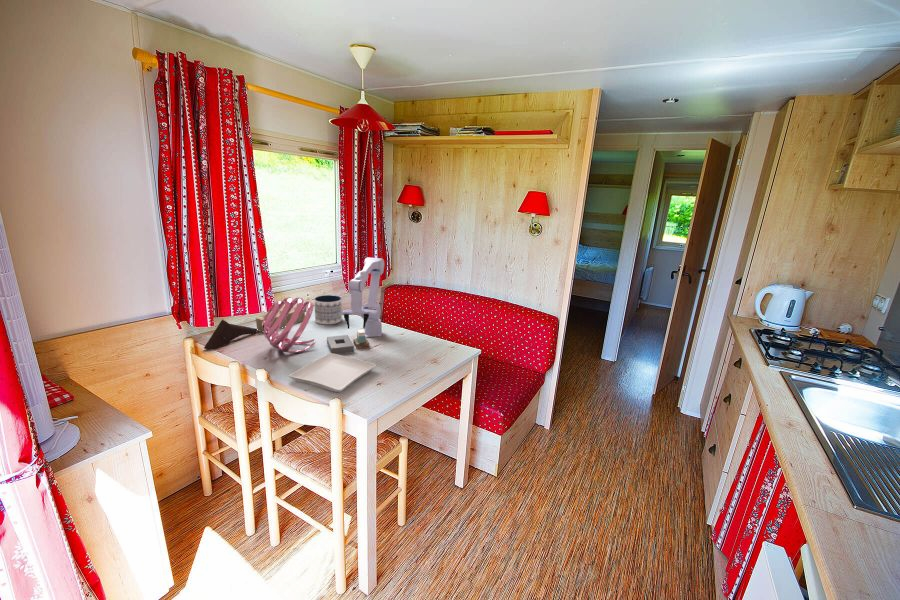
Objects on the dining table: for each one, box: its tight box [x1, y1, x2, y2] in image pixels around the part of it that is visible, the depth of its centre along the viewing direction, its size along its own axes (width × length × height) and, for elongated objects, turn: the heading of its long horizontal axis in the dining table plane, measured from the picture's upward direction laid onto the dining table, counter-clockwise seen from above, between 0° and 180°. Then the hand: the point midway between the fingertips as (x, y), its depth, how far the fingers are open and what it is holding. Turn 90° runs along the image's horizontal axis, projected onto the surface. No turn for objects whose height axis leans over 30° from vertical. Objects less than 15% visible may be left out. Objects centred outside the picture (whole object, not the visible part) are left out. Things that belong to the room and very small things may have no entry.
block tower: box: [255, 306, 308, 332], centre depth 225 cm, size 8×8×29 cm
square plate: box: [287, 352, 377, 393], centre depth 168 cm, size 27×27×4 cm
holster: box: [203, 319, 258, 350], centre depth 198 cm, size 5×16×25 cm
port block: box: [326, 334, 355, 355], centre depth 198 cm, size 11×16×4 cm
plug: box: [356, 329, 366, 343], centre depth 202 cm, size 4×4×8 cm
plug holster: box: [352, 337, 370, 349], centre depth 203 cm, size 7×8×2 cm
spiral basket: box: [262, 296, 316, 354], centre depth 191 cm, size 28×28×27 cm
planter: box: [313, 294, 343, 325], centre depth 236 cm, size 16×16×14 cm
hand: (356, 328), depth 198 cm, fingers open, 7 cm apart
